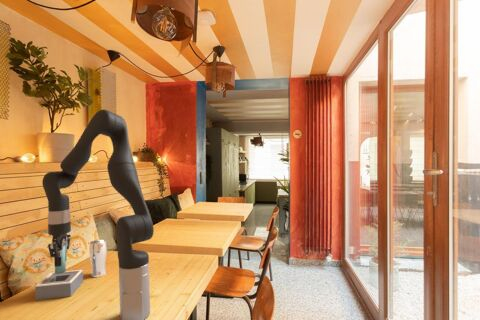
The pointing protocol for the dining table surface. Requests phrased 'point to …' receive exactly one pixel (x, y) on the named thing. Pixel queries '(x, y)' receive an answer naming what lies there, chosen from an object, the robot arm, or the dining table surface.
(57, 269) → the plug
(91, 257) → the tumbler
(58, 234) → the robot arm
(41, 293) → the socket block
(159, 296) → the dining table surface
